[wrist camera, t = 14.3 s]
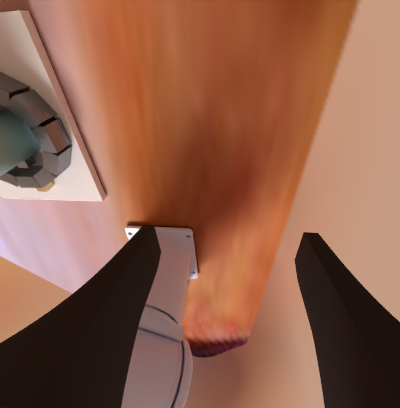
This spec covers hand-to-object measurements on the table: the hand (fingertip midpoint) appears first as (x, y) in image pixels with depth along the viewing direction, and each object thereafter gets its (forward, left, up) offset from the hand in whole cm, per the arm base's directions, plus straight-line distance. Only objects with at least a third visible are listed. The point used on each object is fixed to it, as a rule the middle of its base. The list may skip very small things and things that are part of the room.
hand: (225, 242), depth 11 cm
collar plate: (+3, +19, -10) cm, 22 cm away
